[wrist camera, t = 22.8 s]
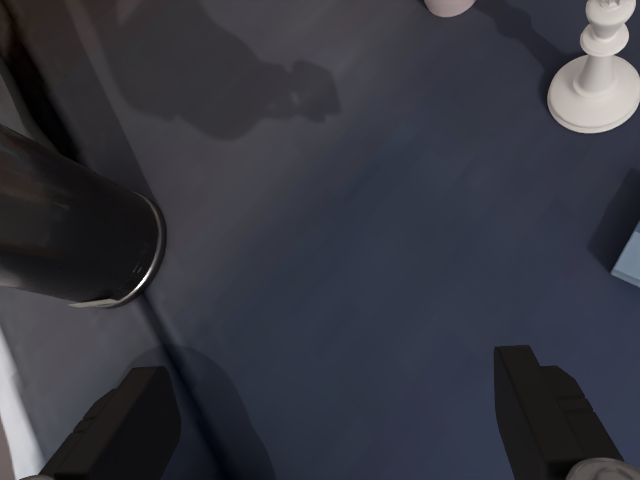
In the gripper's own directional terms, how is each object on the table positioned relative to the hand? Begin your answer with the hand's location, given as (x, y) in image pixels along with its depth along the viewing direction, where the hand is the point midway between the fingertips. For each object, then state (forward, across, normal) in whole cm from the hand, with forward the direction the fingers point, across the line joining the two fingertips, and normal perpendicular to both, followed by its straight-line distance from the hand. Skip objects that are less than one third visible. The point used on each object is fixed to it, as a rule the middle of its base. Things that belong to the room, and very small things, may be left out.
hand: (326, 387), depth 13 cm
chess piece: (+23, -14, -3) cm, 27 cm away
